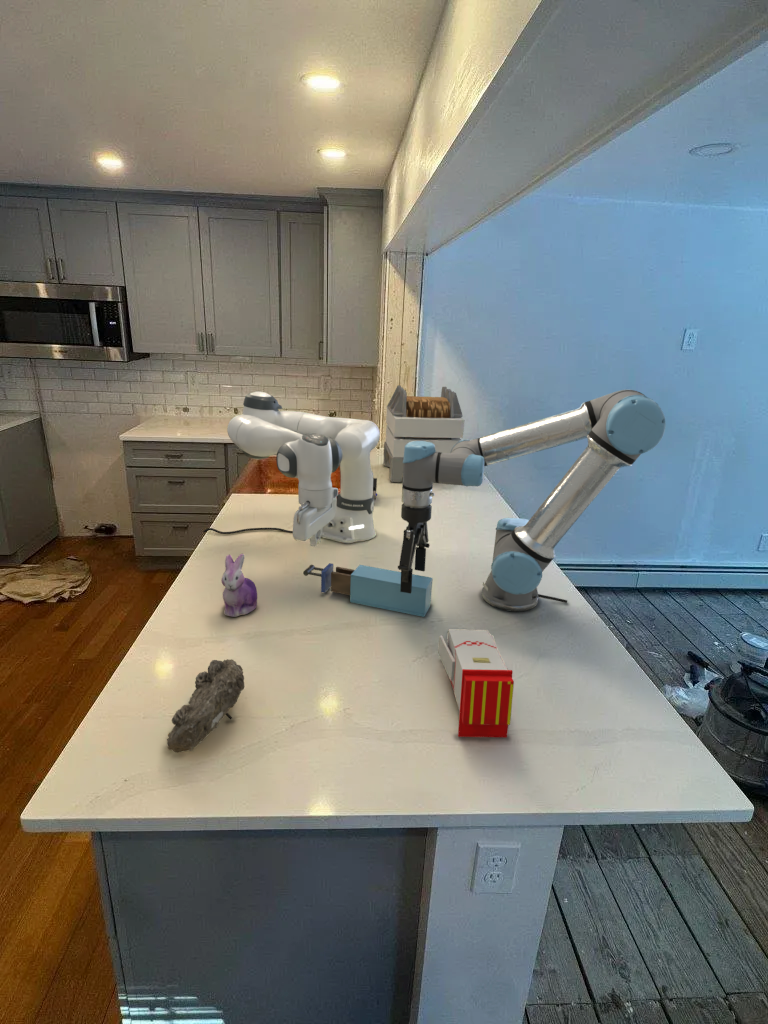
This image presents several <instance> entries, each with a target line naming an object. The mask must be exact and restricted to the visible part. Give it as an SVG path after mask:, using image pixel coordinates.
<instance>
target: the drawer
mask: <svg viewBox="0 0 768 1024" xmlns="http://www.w3.org/2000/svg"><path fill="white" fill-rule="evenodd" d="M314 570H315V571H320V573H318V572H313V571H314ZM354 571H355V569H354V568H353V569H352V568H347V567H343V566H336V567H335V571H334V563H332V562H330V563H328V564H326V566H325V567H324V568H322V567H317V566H316V565H314V564H309V566H307V567H306V568H305V569H304V570H303V571H302V574H303V576H305V577H308V576H309V575H310V576H314V577H315V576H316V577H320V593H324V594H325V593H327V592H328V590H329V589H330V592H332V593H337V594H342V595H346V596H350V586H351V574H352V573H353V572H354Z"/></svg>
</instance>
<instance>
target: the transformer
mask: <svg viewBox="0 0 768 1024" xmlns="http://www.w3.org/2000/svg"><path fill="white" fill-rule="evenodd" d="M440 393H441V394H440V396H415V395H414V396H413V395H412V396H411V395H407V394H408V393H407V390H406V389H404V388H403V387H402V385H399V384H398V385H397V386H396V388H395V390H394V392H393V394H392V395H391V398H390V400H389V402H388V404H387V405H386V413H385V414H386V415H385V423H386V428H385V438H384V442H383V466H384V467H388V468H389V475H388V476H389V477H388V478H389V480H390V482H391V483H403V459H404V449H405V445H406V444H407V443H409V442H412V441H426V442H431V443H433V444H434V445H435V450H436V452H442V453H450V452H451V450H452V448H453V446H454V445H455V444H457V443H458V442H459V441H461V440H462V439H463V438H464V431H465V430H464V429H465V419H464V418H463V411H462V408H461V405H460V402H459V398H458V395H457V392H455V391H453V390H452V389H451V388H447V386H442V387H441V392H440Z"/></svg>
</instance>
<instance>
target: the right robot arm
mask: <svg viewBox="0 0 768 1024" xmlns="http://www.w3.org/2000/svg"><path fill="white" fill-rule="evenodd" d="M666 423H667V422H666V417H665V414H664V412H663V409H662V408H661V406H660V405H659V404H658V403H657V402H656V401H655V400H654V399H653V398H650V397H648V396H647V395H645V394H644V393H642V392H640V391H638V390H634V389H621V390H617V391H613V392H611V393H607V394H605V395H602V396H599V397H596V398H594V399H591V400H588V401H587V400H586V401H584V402H582V403H581V405H580V406H579V407H578V408H576V409H572V410H568V411H565V412H561V413H558V414H555V415H552V416H548V417H545V418H542V419H537V420H535V421H531V422H528V423H525V424H521V425H517V426H514V427H511V428H508V429H504V430H500V431H497V432H494V433H491V434H488V435H484V436H479V437H478V438H474V439H461V441H459V442H458V443H457V444H455V445H454V446H453V448H452V450H451V452H450V453H442V452H436V450H435V445H434V444H433V443H431V442H426V441H412V442H409V443H407V444H406V445H405V449H404V459H403V475H402V486H401V503H402V504H401V511H400V512H401V513H400V517H401V519H402V520H403V521H405V522H407V523H408V524H407V526H406V528H405V529H404V530H403V537H402V545H401V550H400V557H399V563H398V565H397V569H398V570H399V571H400V572H401V587H400V592H404V593H410V594H411V592H412V574H413V569H414V571H420V572H425V571H426V559H427V558H426V557H427V556H426V555H427V548H428V549H429V548H430V543H429V541H430V540H429V532H428V531H429V530H428V522H430V520H432V509H433V507H432V503H433V498H434V497H435V495H436V494H435V492H433V488H434V484H441V485H442V484H444V485H450V486H451V485H453V486H463V487H466V488H468V487H480V486H481V485H482V484H483V479H484V471H485V467H488V466H491V465H496V464H497V463H501V462H506V461H509V460H512V459H517V458H520V457H523V456H527V455H531V454H534V453H535V454H536V453H538V452H541V451H545V450H549V449H552V448H556V447H560V446H563V445H567V444H570V443H574V442H578V441H581V440H585V439H587V446H586V447H585V449H583V451H582V453H581V454H580V455H579V456H578V457H577V458H576V460H574V463H573V464H572V465H571V466H570V468H569V469H568V470H567V472H566V473H565V474H564V476H563V477H562V478H561V479H560V480H559V482H558V483H557V484H556V485H555V486H554V488H553V489H552V491H551V492H550V493H549V494H548V496H547V497H546V498H545V500H544V501H543V502H542V503H541V504H540V506H539V507H538V509H537V510H536V511H535V512H534V514H533V515H532V516H531V517H530V519H526V518H519V517H505V518H500V519H498V521H497V523H496V527H495V537H494V544H493V545H494V546H493V555H492V563H491V565H490V572H489V574H488V576H487V578H486V580H485V582H484V581H482V592H481V597H482V599H483V600H484V601H485V602H487V604H489V605H491V606H492V607H495V608H497V609H500V610H503V611H507V612H508V611H509V612H526V611H530V610H532V609H534V608H535V607H536V606H537V605H538V602H539V598H542V599H545V600H551V601H556V602H560V603H564V604H568V599H563V598H559V597H554V596H550V595H546V594H540V593H539V592H538V586H539V585H540V583H541V581H542V578H543V572H544V571H545V570H546V568H547V567H548V566H549V565H550V564H551V562H552V561H554V559H555V557H556V552H555V551H556V550H555V547H556V546H557V545H558V544H559V542H560V541H561V540H562V539H563V538H564V537H565V535H566V534H567V533H568V532H569V530H570V529H571V528H572V527H573V525H574V524H575V523H576V522H577V521H578V519H580V517H581V516H582V514H584V512H585V511H586V510H588V508H589V506H590V505H591V504H592V503H593V501H594V500H595V499H596V498H597V497H598V496H599V494H600V493H601V492H602V491H603V490H604V488H605V487H606V486H607V484H608V483H609V482H610V481H611V480H612V478H613V477H614V476H615V475H616V474H617V472H619V470H620V469H621V468H628V467H632V466H633V465H634V463H635V462H636V461H637V460H638V458H639V457H640V456H641V455H643V454H646V453H647V452H649V451H651V450H653V449H654V448H655V447H656V446H658V445H659V443H660V442H661V440H663V439H662V438H663V437H664V434H665V431H666V425H667V424H666ZM413 563H414V568H412V567H413Z"/></svg>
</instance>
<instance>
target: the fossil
mask: <svg viewBox="0 0 768 1024" xmlns="http://www.w3.org/2000/svg"><path fill="white" fill-rule="evenodd" d="M243 670H244V669H243V667H242V665H240V664H237V662H236V661H235V660H234V659H232V658H231V659H227V658H226V659H224V660H223V661H222V660H217V659H212V660H211V661H210V663H209V665H208V666H207V671H201V672H199V673H198V674H197V675H196V676H195V680H194V684H195V685H194V687H195V689H194V690H193V693H192V694H191V697H190V698H189V700H188V704H184V705H182V706H181V707H180V709H177V710H176V711H175V713H174V715H173V716H172V718H171V723H172V724H173V727H172V730H171V731H170V732H168V734H167V738H166V741H167V742H166V745H167V749H168V750H169V751H173V752H174V753H176V754H178V753H182V752H188V751H189V752H192V751H193V750H195V748H196V747H197V746H199V744H200V743H201V742H203V741H204V740H205V739H206V738H207V737H208V736H209V735H210V734H211V733H212V732H214V730H215V729H217V727H218V726H219V724H220V722H221V721H222V720H223V719H224V718H225V716H226V717H227V719H229V720H233V717H232V715H230V714H229V710H230V709H231V708H234V706H235V704H236V703H237V702H238V699H239V697H240V695H241V693H242V691H243V690H245V689H244V688H245V675H244V671H243Z"/></svg>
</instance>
